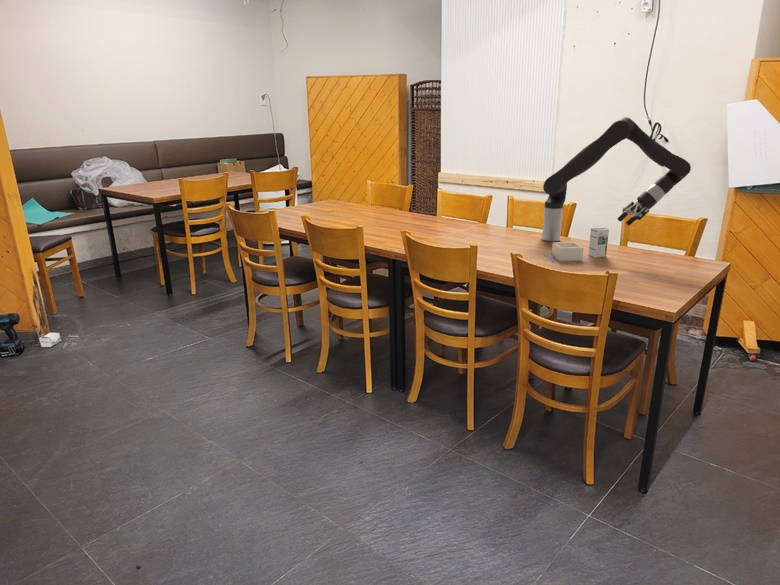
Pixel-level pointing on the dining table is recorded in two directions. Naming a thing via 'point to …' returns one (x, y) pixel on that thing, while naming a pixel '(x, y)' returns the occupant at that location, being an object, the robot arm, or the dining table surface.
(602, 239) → the syrup box
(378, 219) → the dining table surface
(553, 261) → the slate board
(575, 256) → the ceramic holder
